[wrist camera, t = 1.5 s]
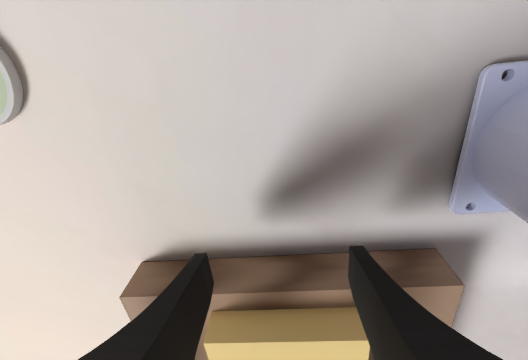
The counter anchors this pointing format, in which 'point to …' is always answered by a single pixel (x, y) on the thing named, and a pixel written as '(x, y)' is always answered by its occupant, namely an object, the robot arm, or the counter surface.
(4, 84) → the pale green spoon
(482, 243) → the counter surface
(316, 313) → the yellow flat block
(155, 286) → the brown wooden board
